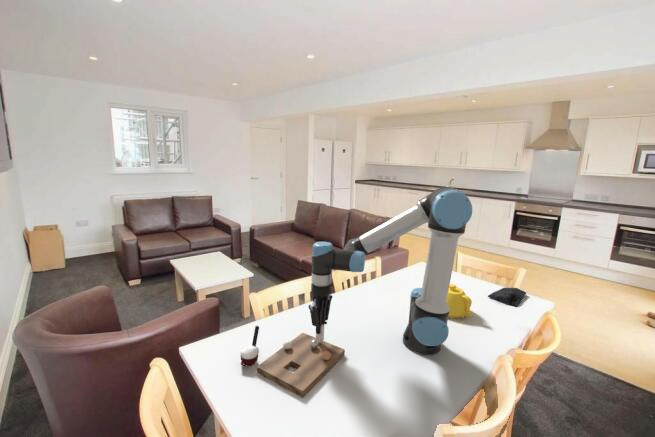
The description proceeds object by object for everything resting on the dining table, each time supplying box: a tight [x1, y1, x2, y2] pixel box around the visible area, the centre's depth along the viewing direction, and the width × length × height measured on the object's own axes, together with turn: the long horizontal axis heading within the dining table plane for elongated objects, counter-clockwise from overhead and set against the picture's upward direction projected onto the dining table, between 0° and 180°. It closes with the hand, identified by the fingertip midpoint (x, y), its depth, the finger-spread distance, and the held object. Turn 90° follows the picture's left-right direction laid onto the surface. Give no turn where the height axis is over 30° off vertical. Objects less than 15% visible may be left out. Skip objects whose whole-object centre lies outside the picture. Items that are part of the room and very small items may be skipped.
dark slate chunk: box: [487, 287, 527, 308], centre depth 173 cm, size 15×22×5 cm
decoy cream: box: [282, 339, 292, 349], centre depth 118 cm, size 3×3×3 cm
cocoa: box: [239, 325, 260, 367], centre depth 112 cm, size 10×6×12 cm, turn 133°
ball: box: [310, 340, 318, 349], centre depth 118 cm, size 3×3×3 cm
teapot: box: [446, 283, 473, 319], centre depth 156 cm, size 25×18×14 cm
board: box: [256, 332, 346, 399], centre depth 113 cm, size 20×26×2 cm
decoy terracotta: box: [322, 351, 331, 360], centre depth 112 cm, size 3×3×3 cm
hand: (319, 339), depth 122 cm, fingers closed
